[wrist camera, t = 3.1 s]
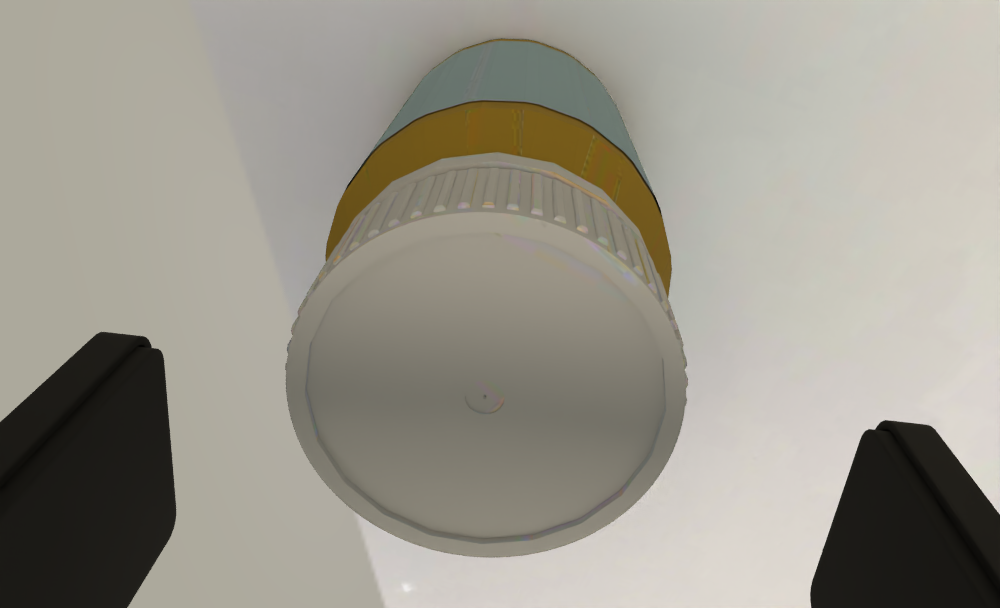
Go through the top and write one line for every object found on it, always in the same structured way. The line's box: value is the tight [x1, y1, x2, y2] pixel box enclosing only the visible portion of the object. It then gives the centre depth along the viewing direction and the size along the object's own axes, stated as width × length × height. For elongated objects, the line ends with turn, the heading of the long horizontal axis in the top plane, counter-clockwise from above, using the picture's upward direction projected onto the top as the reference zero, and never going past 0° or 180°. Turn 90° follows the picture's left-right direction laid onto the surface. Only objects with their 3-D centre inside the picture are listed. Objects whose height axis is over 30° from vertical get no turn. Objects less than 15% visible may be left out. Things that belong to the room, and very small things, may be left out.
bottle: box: [286, 39, 688, 557], centre depth 19 cm, size 7×7×15 cm
